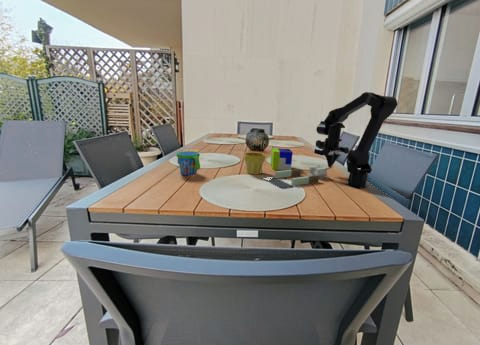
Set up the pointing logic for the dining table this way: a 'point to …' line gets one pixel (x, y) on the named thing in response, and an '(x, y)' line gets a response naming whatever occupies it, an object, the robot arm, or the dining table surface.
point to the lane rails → (297, 180)
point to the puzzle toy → (281, 159)
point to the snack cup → (188, 162)
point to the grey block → (317, 171)
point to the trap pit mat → (279, 183)
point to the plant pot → (254, 162)
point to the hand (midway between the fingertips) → (329, 167)
